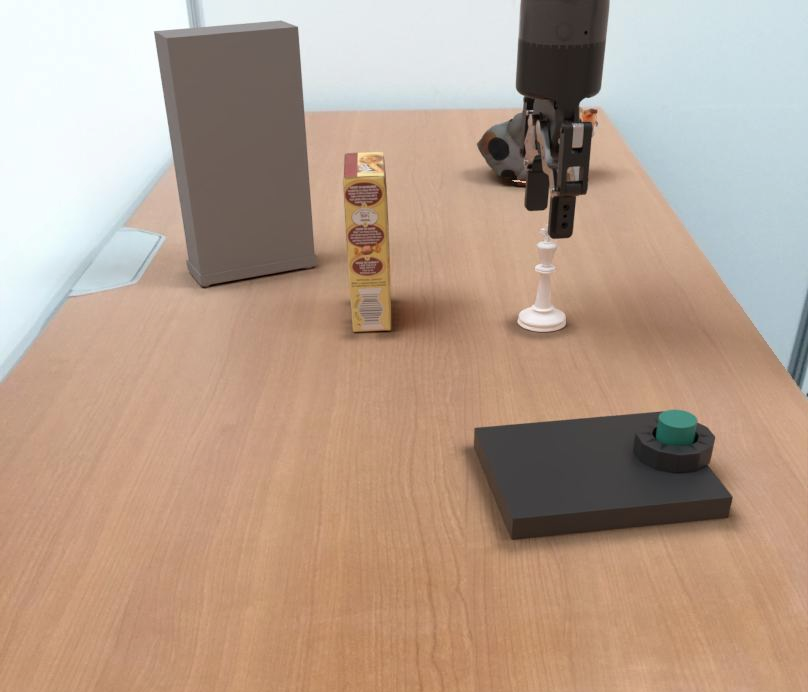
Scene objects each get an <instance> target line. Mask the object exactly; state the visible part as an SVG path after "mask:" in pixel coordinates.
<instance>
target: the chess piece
mask: <svg viewBox="0 0 808 692" xmlns="http://www.w3.org/2000/svg"><path fill="white" fill-rule="evenodd" d="M539 235H543V236H544V237H543V238H544V239H543V240H541V241H539V242H538V243H536V250H537V252H538V257H539V261H540V263H538V264H536V265H535V267H534V271H535V272H536V273H539V274H540V275H539V279H538V285H537V290H536V296H535V300H534V303H533V304H531V306H530V307H526V308H524V309H521V311H520V312H519V313H518V317H517V318H518V319H517V324H518V326H520V327H521V328H523V329H525V330H528V331H532V332H536V333H537V332H538V333H548V332H550V333H551V332H556V331H559V330H561V329H563V328H564V327H565V326H566V325H567V320H566V319H567V317H566V313H564V312H563V311H562V310H561V309H558V308H556V307H555V306H554V304H552V294H551V293H552V292H551V274H553V273H555V272H557V266H556V265H555V264H552V262H553V259H554V257H555V255H556V252H557V250H558V246H559V245H558V243H557V242H555V241H553V240H552V238H551V237H550V236H549V235H548V222H547V223H545V225H544V228H543V227H542V228H540V229H539Z"/></svg>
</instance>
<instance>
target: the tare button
mask: <svg viewBox="0 0 808 692" xmlns="http://www.w3.org/2000/svg"><path fill="white" fill-rule="evenodd" d="M663 411H664V412H662V413H661V414H660V415H659V419H658V425H657V431H656V439H657V440H658V441H660V442H662V443H664V444H667V445H672V446H678V447H679V446H690V445H692V444H693V442H694V437H695V432H696V427H697V422H698V418H697V416H696V415H694V414H693V413H691V412H689V411H687V410H682V409H667V410H663Z"/></svg>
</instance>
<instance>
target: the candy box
mask: <svg viewBox="0 0 808 692" xmlns="http://www.w3.org/2000/svg"><path fill="white" fill-rule="evenodd" d="M342 184H343V204H344V222H345V236H346V238H345V239H346V240H345V241H346V254H347V269H348V271H347V272H348V281H349V282H348V283H349V298H350V299H349V300H350V311H351V323H352V324H351V325H352V332H353V333H359V332H361V333H362V332H382V331H386V332H389V331H391V330H392V294H391V293H392V292H391V291H392V290H391V287H392V286H391V284H392V283H391V255H390V226H389V225H390V224H389V207H388V205H389V203H388V189H387V173H386V163H385V153H384V152H383V151H371V152H369V151H368V152H366V151H365V152H345V153H344V157H343V177H342Z"/></svg>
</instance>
